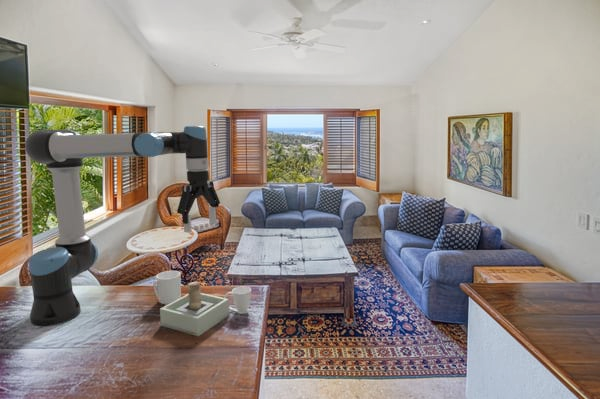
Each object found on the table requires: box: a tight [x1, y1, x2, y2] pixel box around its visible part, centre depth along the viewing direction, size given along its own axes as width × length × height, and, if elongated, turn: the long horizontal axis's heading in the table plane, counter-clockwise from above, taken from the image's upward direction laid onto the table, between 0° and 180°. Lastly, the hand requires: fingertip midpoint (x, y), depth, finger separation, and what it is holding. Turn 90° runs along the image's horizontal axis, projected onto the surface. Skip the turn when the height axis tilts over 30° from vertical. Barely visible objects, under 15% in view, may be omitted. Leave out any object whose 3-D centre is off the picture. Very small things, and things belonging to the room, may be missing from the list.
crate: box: [159, 292, 230, 337], centre depth 135 cm, size 16×16×6 cm
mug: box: [152, 270, 182, 306], centre depth 149 cm, size 11×9×10 cm
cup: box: [223, 285, 252, 315], centre depth 141 cm, size 7×10×8 cm
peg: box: [187, 281, 202, 311], centre depth 134 cm, size 4×4×12 cm
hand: (200, 228), depth 145 cm, fingers open, 13 cm apart
